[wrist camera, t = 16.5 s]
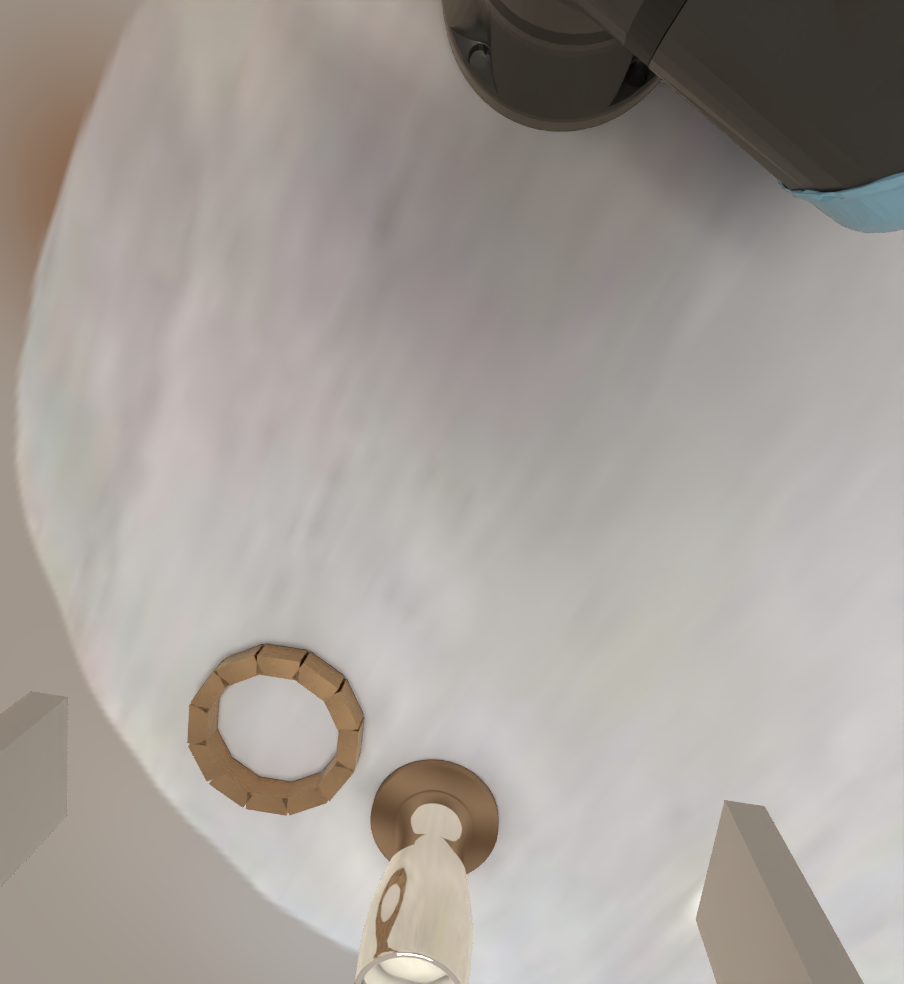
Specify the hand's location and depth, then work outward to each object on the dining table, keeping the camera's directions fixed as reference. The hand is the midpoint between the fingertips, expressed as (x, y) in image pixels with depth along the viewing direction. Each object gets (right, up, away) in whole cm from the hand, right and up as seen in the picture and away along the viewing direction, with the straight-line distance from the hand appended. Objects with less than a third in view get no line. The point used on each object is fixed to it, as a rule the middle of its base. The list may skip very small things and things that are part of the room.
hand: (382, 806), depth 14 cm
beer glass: (0, -20, +41) cm, 45 cm away
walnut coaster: (0, -19, +42) cm, 46 cm away
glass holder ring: (-12, -12, +41) cm, 44 cm away
